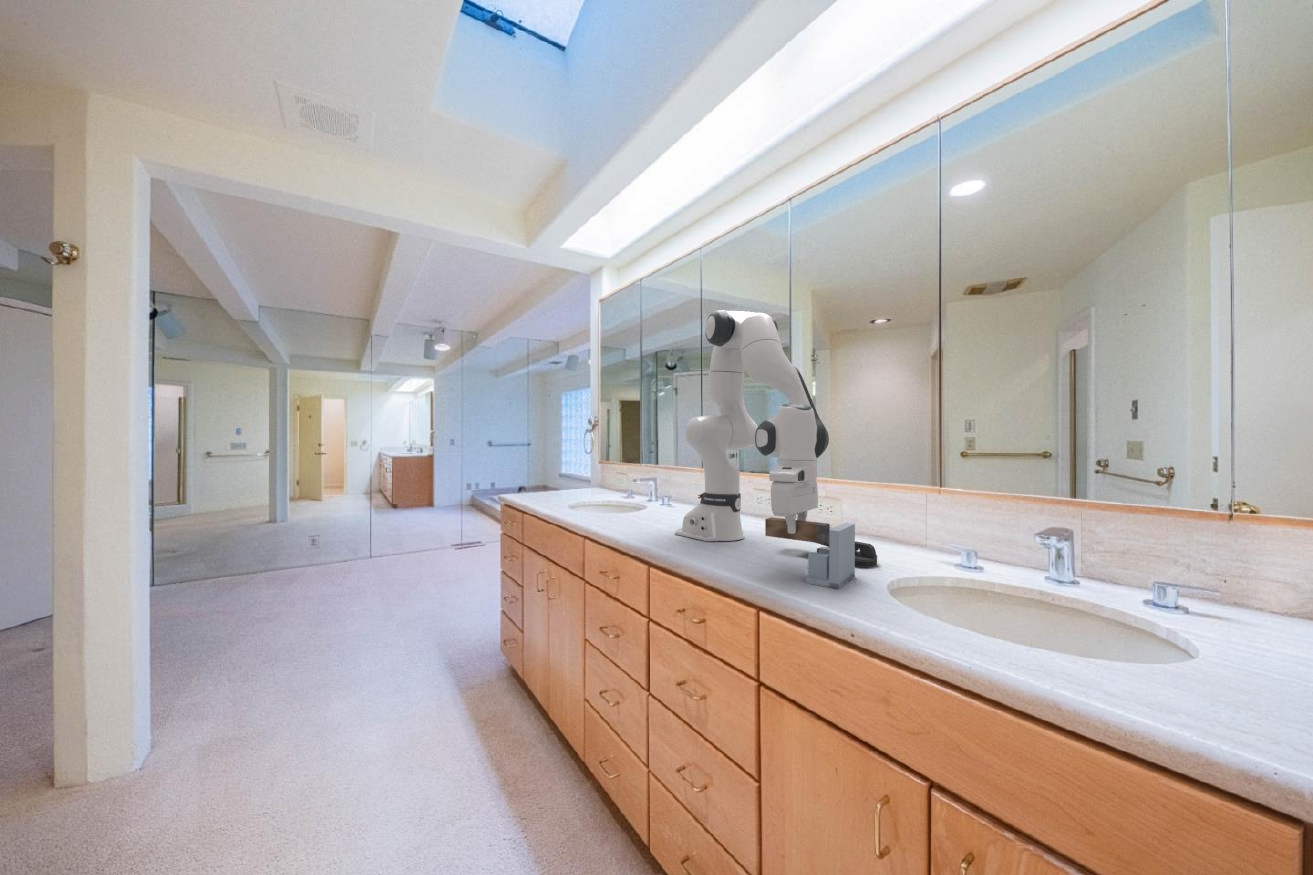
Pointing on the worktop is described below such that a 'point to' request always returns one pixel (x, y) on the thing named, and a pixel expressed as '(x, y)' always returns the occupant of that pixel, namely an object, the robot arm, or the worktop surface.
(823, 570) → the post block
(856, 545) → the black stapler
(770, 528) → the brown long rectangular block
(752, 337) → the robot arm
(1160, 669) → the worktop surface
